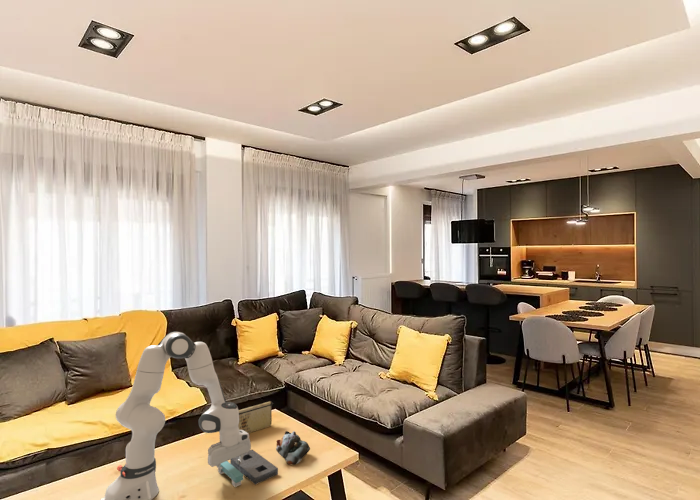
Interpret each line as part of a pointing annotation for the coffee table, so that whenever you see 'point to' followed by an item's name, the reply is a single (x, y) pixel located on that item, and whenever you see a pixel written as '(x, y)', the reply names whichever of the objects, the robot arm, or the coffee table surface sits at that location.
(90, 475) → the coffee table surface
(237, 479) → the peg strip
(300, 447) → the lucky cat figurine
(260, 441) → the coffee table surface
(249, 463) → the hole plate
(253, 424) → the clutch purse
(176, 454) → the coffee table surface
